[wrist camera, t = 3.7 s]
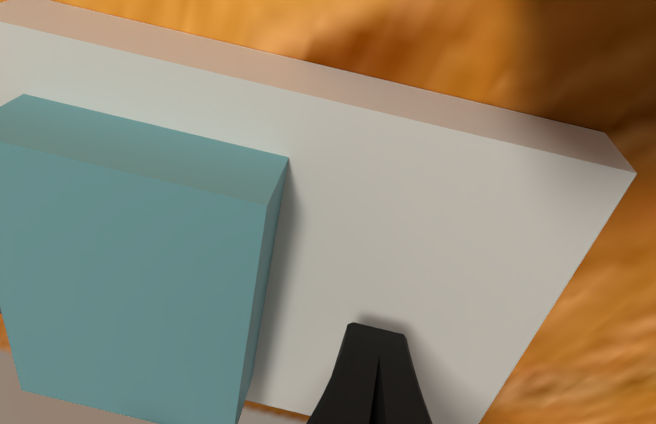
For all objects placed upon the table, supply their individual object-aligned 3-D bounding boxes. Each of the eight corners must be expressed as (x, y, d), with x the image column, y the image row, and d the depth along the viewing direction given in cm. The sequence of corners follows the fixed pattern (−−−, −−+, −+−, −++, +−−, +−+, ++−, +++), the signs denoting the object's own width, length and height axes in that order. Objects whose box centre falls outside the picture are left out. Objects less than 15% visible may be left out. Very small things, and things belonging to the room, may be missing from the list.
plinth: (605, 132, 12) (637, 173, 10) (455, 398, 18) (460, 452, 16) (27, -6, 12) (-36, 12, 10) (71, 305, 18) (36, 349, 16)
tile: (288, 157, 11) (267, 206, 9) (251, 381, 15) (231, 441, 14) (24, 93, 11) (-45, 131, 9) (63, 336, 15) (21, 389, 14)
